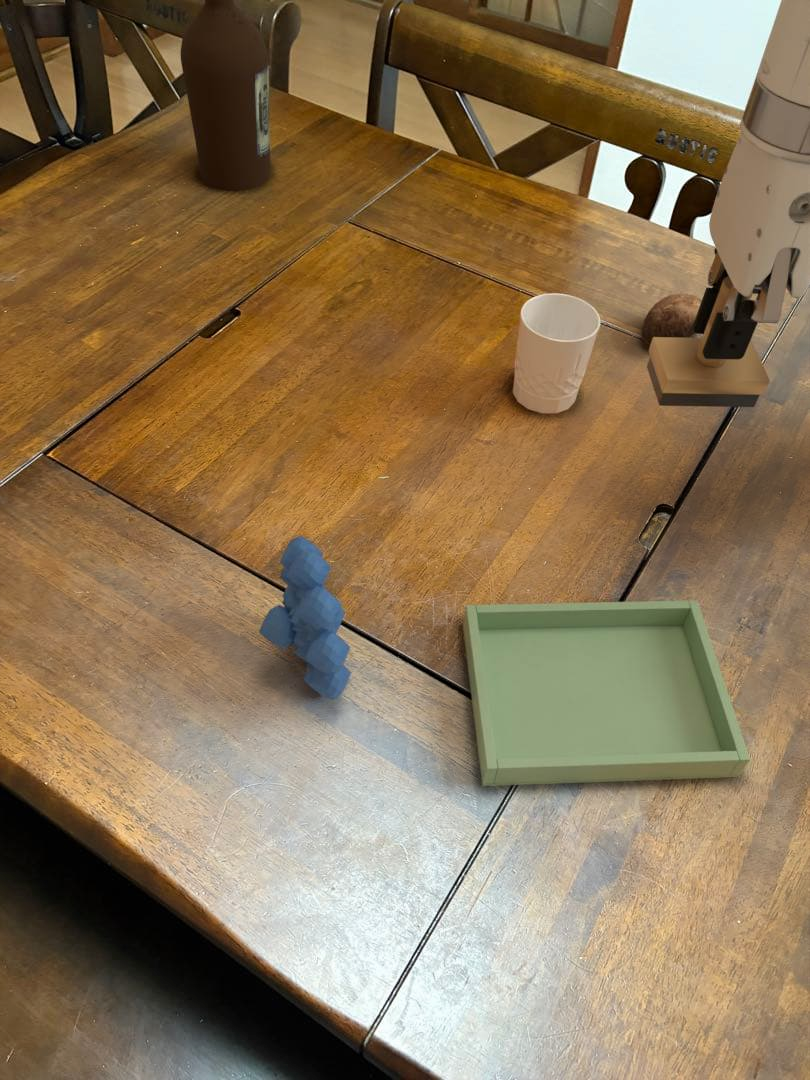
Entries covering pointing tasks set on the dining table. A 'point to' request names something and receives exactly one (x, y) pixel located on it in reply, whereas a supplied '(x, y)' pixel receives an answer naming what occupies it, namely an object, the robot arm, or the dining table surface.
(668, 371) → the brush
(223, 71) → the olive oil
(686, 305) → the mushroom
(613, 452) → the dining table surface
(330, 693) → the grapes
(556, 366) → the white cup
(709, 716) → the tray
